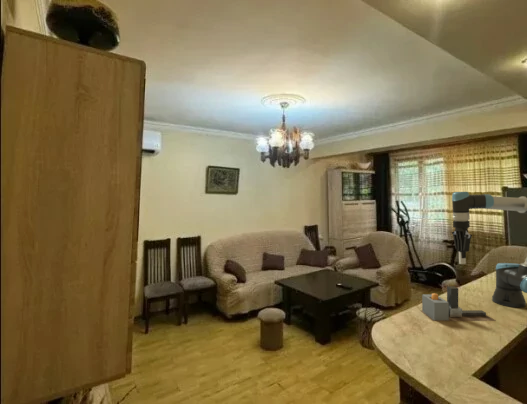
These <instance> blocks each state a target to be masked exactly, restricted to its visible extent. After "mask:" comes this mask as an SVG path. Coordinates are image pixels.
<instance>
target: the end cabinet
mask: <svg viewBox="0 0 527 404" xmlns="http://www.w3.org/2000/svg"><path fill="white" fill-rule="evenodd" d="M421 298H422V299H421V300H422V301H421V306H422V307H421V308H422V309H421V311H423V312H424V313H426V314H427V315H428V316H429V317H431V318H432V319H433V320H449V302H447V300H445V299H444V298H442V297H440V296H439V295H438V300H432V293H431V294H426V293H425V294H424V293H423V294H421ZM429 317H428V318H429Z"/></svg>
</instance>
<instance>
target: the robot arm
mask: <svg viewBox="0 0 527 404" xmlns="http://www.w3.org/2000/svg"><path fill="white" fill-rule="evenodd" d="M451 197H452V198H451V202H452V203H451V204H452V227H453V228H455V229H454V231H451V234H452V238H453V242H454V248H455V250H457V252H458V264H459V265H467V261H466V260H467V259H466V258H467V252H469V251H470V248H471V247H470V245H471V239H472V237H473V234H470V233H469V228H470V227H471V226H470V225H471V224H470V218H471V217H470V210H476V209H479V210H480V209H483V210H484V209H485V210H497V211H511V212H513V211H514V212H517V213H519V214H527V196H525V195H524V196H523V195H522V196H519V197H512V196H511V197H509V196H496V195H495V196H494V195H492V194H489V193H488V194H485V193H483V194H469V191H456V192H455V191H454V192H452V195H451ZM524 293H526V294H527V256H526V258H525V259H524V262H521V263H516V262H515V263H514V262H512V263H511V262H510V263H509V262H498V263H497V264H496V266H495V289H494V291H493V294H492V297H491V298H492V299H491V300H492V302H494V303H496V304H497V305H502V306H505V307H511V308H525V307H526V306H527V303H526V298H525V297H524ZM524 306H525V307H524Z"/></svg>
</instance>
